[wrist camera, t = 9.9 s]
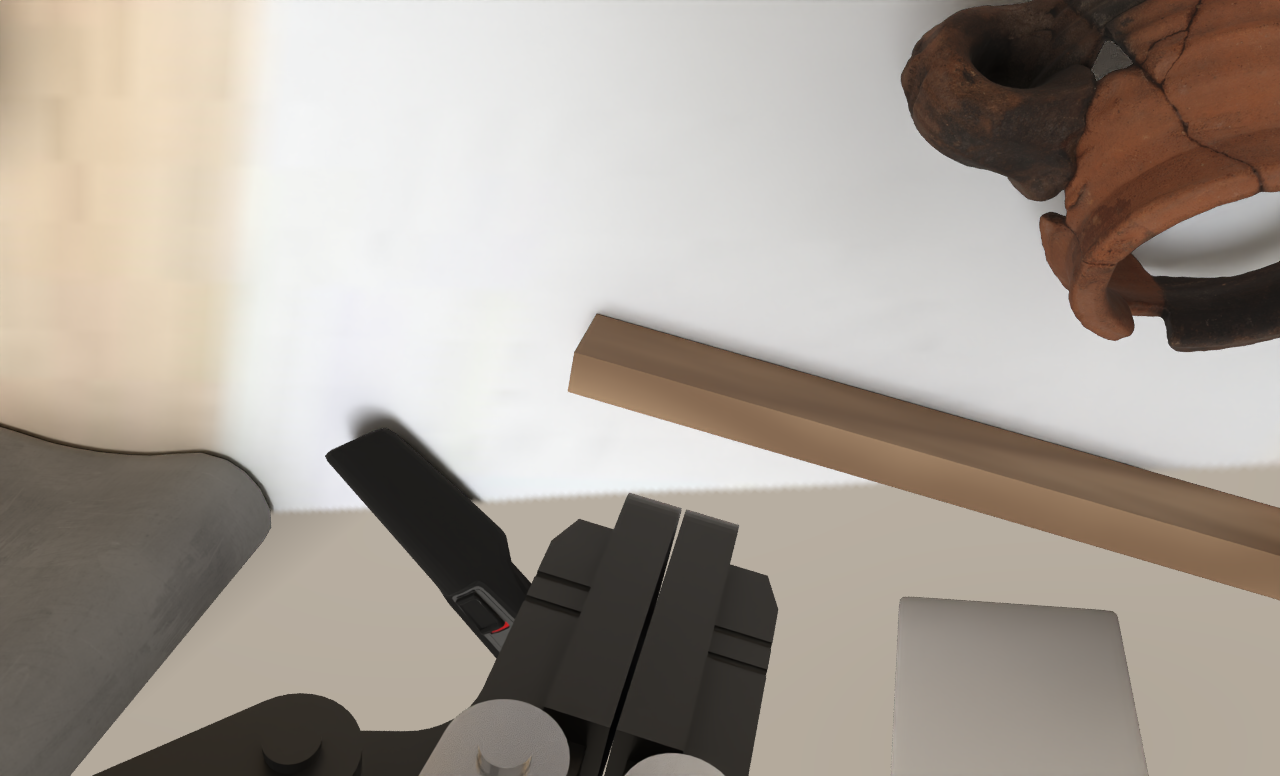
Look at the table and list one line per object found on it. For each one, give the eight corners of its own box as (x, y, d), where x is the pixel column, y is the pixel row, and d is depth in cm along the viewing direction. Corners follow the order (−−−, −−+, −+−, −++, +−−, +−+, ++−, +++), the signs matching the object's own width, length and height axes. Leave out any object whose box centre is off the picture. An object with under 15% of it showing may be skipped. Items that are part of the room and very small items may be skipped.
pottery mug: (1474, -144, 23) (1639, 144, 19) (1225, 149, 31) (1303, 391, 27) (939, -198, 22) (993, 90, 18) (829, 117, 30) (850, 361, 26)
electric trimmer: (404, 386, 38) (363, 434, 36) (643, 674, 43) (623, 735, 40) (337, 424, 40) (294, 473, 37) (574, 696, 45) (551, 756, 42)
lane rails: (711, -331, 24) (690, -336, 22) (1882, -76, 21) (1981, -54, 19) (589, 351, 35) (567, 391, 33) (1358, 573, 32) (1386, 631, 30)
